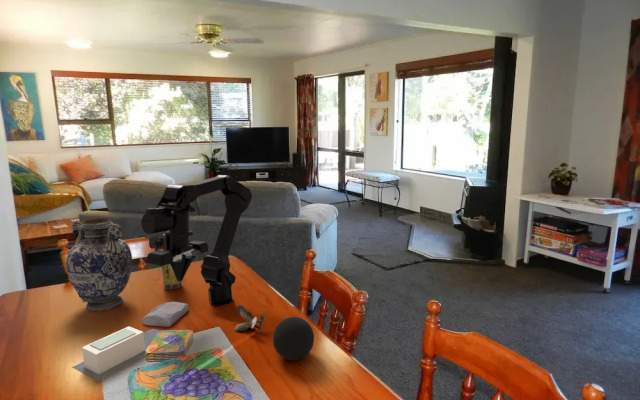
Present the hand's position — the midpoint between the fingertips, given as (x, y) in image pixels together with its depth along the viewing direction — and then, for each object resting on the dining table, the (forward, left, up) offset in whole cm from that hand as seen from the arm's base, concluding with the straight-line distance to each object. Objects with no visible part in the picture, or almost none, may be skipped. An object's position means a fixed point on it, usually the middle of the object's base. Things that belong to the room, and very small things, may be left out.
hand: (179, 281), depth 120 cm
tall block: (+14, +11, -9) cm, 20 cm away
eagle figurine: (-13, +17, -12) cm, 25 cm away
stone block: (+4, -4, -13) cm, 14 cm away
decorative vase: (+18, -26, -12) cm, 34 cm away
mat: (+16, +12, -12) cm, 24 cm away
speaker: (-17, +37, -12) cm, 42 cm away
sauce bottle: (-4, -28, -12) cm, 31 cm away
